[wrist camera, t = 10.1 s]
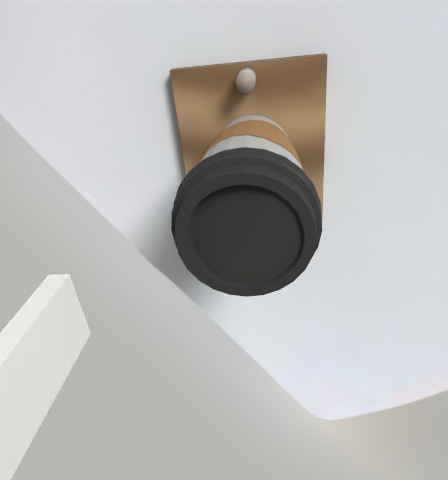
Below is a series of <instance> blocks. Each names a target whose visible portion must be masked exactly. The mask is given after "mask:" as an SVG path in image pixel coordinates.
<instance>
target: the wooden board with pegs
mask: <svg viewBox="0 0 448 480" xmlns="http://www.w3.org/2000/svg"><path fill="white" fill-rule="evenodd" d="M170 75H171V82H172V88H173V95H174V101H175V107H176V114H177V120H178V127H179V133H180V140H181V146H182V152H183V159H184V165H185V172H186V176H187V174H188V173H189V171H190V170H191V169H193V168H194V167H195V166H196V165H197V164H198V163H199V161H200V160H201V158H202V157H203V156H204V154H205V153H206V151H207V150H208V148H209V147H210V146H211V144H212V143H213V141H214V140H215V139H216V137H217V136H218V135H219V134H220V133H221V132H222V131H223V129H224V128H225V127H226V126H227V125H228V124H230V123H231V122H232V121H234V120H236V119H238V118H240V117H244V116H250V115H255V116H263V117H265V118H268V119H270V120H273V121H274V122H275V123H277V124H278V125H279V126H281V128H282V129H283V130H284V132H285V133H286V134H287V136H288V138H289V140H290V141H291V142H292V144H293V146H294V148H295V151H296V153H297V155H298V157H299V159H300V161H301V163H302V166H303V168H304V171H305V173H306V175H307V176H308V177H309V179H310V180H311V181H312V183H313V184H314V186H315V188H316V191H317V194H318V196H319V199H320V201H321V214H322V208H323V175H324V143H325V110H326V78H327V54H315V55H305V56H295V57H285V58H275V59H265V60H255V61H245V62H235V63H225V64H215V65H205V66H195V67H185V68H175V69H171V70H170Z"/></svg>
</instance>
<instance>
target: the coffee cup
mask: <svg viewBox="0 0 448 480" xmlns="http://www.w3.org/2000/svg"><path fill="white" fill-rule="evenodd" d="M172 233H173V237H174V240H175V244H176V247H177V250H178V253H179V256H180V258H181V259H182V261H183V263H184V264H185V266H186V267H187V269H188V270H189V271H190V272H191V273H192V274H193V275H194V276H195V277H196V278H197V279H198V280H199V281H201V282H202V283H204V284H206V285H207V286H209V287H211V288H212V289H215V290H218V291H221V292H223V293H226V294H230V295H238V296H257V295H265V294H268V293H271V292H274V291H277V290H280V289H281V288H283V287H285V286H287V285H288V284H290V283H292V282H293V281H294V280H295V279H296V278H297V277H298V276H299V275H300V274H301V273H302V272H303V271H304V270H305V269H306V267H307V266H308V264H309V262H310V260H311V259H312V257H313V255H314V253H315V251H316V250H317V248H318V245H319V241H320V237H321V233H322V214H321V201H320V199H319V196H318V194H317V191H316V188H315V186H314V184H313V183H312V181H311V180H310V179H309V177H308V176H307V175H306V173H305V171H304V168H303V166H302V163H301V161H300V159H299V157H298V155H297V153H296V151H295V148H294V146H293V144H292V142H291V141H290V140H289V138H288V136H287V134H286V133H285V132H284V130H283V129H282V128H281V126H279V125H278V124H277V123H275V122H274V121H273V120H270V119H268V118H265V117H263V116H255V115H250V116H244V117H240V118H238V119H236V120H234V121H232V122H231V123H230V124H228V125H227V126H226V127H225V128H224V129H223V131H222V132H221V133H220V134H219V135H218V136H217V137H216V139H215V140H214V141H213V143H212V144H211V146H210V147H209V148H208V150H207V151H206V153H205V154H204V156H203V157H202V158H201V160H200V161H199V163H198V164H197V165H196V166H195V167H194V168H193V169H191V170H190V171H189V173H188V174H187V176H186V177H185V178H184V180H183V181H182V183H181V184H180V186H179V188H178V192H177V195H176V198H175V201H174V207H173V210H172Z"/></svg>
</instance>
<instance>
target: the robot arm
mask: <svg viewBox="0 0 448 480" xmlns="http://www.w3.org/2000/svg"><path fill="white" fill-rule="evenodd" d="M90 334H91V333H90V330H89V328H88V325H87V322H86V319H85V316H84V313H83V311H82V308H81V305H80V302H79V299H78V297H77V294H76V291H75V288H74V285H73V283H72V280H71V277H70V275H69V274H64V275H48V276H47V278H46V279H45V280H44V281H43V282H42V284H41V285H40V286H39V287H38V289H37V290H36V291H35V292H34V293H33V294H32V296H31V297H30V298H29V299H28V301H27V302H26V303H25V304H24V305H23V306H22V308H21V309H20V310H19V311H18V313H17V314H16V315H15V316H14V317H13V319H12V320H11V321H10V322H9V323H8V325H7V326H6V327H5V328H4V329H3V331H2V332H1V333H0V480H11V478H12V477H13V475H14V473H15V471H16V469H17V467H18V466H19V464H20V462H21V460H22V458H23V456H24V455H25V453H26V451H27V449H28V447H29V445H30V444H31V442H32V440H33V438H34V436H35V435H36V433H37V431H38V429H39V427H40V425H41V424H42V422H43V420H44V418H45V416H46V414H47V412H48V411H49V409H50V407H51V405H52V403H53V402H54V400H55V398H56V396H57V394H58V392H59V391H60V389H61V387H62V385H63V383H64V381H65V379H66V378H67V376H68V374H69V372H70V371H71V369H72V367H73V365H74V363H75V361H76V360H77V358H78V356H79V354H80V352H81V350H82V348H83V347H84V345H85V343H86V341H87V339H88V338H89V336H90Z"/></svg>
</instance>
